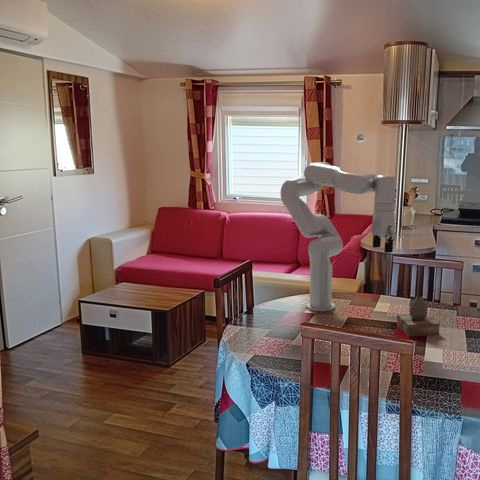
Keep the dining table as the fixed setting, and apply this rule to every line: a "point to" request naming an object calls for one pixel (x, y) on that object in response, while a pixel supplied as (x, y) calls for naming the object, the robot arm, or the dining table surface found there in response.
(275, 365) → the dining table surface
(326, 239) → the robot arm
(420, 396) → the dining table surface
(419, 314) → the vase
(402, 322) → the walnut block
